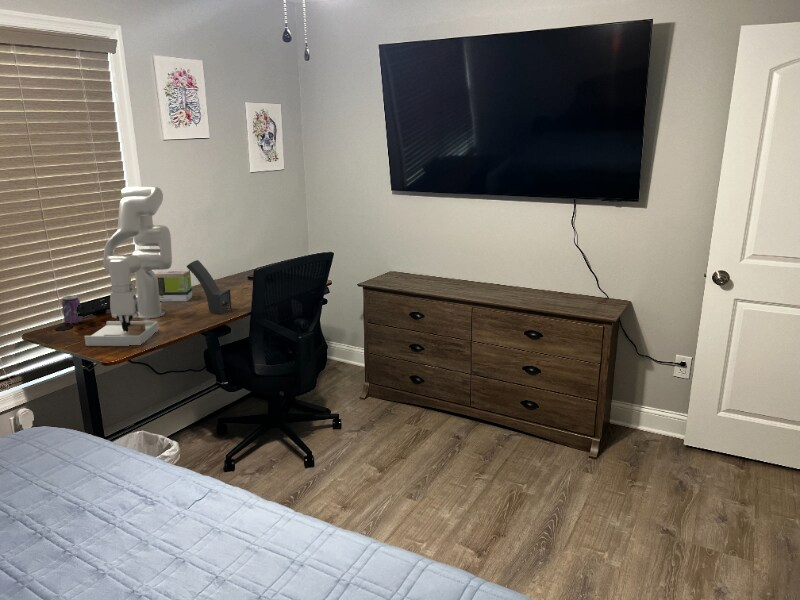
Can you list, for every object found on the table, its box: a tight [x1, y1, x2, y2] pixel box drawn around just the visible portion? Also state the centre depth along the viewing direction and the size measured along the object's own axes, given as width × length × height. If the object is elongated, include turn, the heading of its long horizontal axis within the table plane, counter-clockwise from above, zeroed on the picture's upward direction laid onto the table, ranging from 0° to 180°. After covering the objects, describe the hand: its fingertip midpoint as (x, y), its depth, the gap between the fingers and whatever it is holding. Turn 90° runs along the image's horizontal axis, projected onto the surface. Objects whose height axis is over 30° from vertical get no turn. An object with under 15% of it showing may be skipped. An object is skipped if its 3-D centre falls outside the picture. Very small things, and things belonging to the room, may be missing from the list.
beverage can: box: [61, 294, 83, 325], centre depth 272 cm, size 7×7×12 cm
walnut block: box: [128, 323, 146, 335], centre depth 253 cm, size 5×5×4 cm
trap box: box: [84, 320, 160, 347], centre depth 254 cm, size 20×22×4 cm
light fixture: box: [186, 259, 232, 315], centre depth 290 cm, size 11×17×24 cm, turn 81°
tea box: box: [155, 269, 193, 302], centre depth 310 cm, size 15×10×15 cm, turn 92°
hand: (126, 330), depth 254 cm, fingers closed
